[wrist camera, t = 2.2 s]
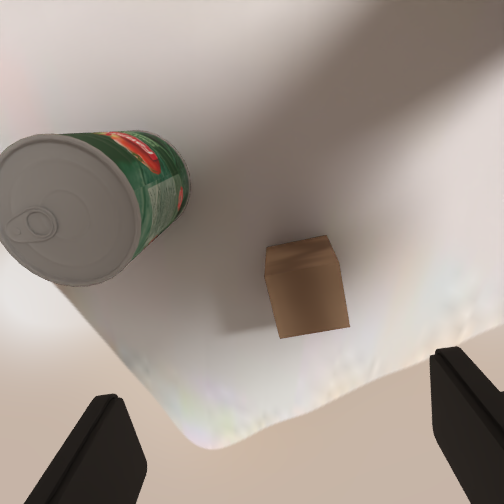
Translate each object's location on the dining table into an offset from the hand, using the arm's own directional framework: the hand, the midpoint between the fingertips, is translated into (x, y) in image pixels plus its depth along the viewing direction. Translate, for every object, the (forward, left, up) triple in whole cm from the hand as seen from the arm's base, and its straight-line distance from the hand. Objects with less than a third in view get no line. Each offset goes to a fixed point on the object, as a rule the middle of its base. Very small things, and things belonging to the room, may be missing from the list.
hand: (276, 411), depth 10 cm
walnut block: (-1, +4, -19) cm, 20 cm away
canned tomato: (+10, -6, -19) cm, 22 cm away
